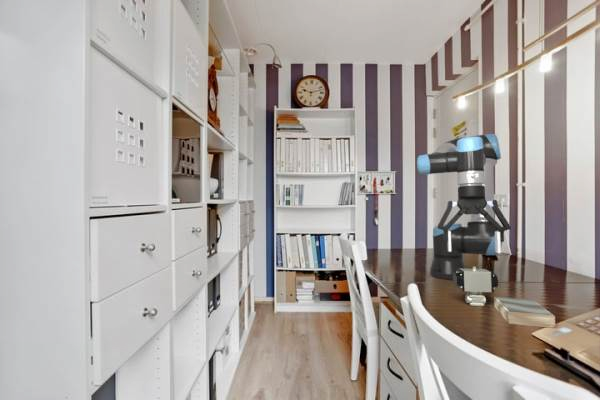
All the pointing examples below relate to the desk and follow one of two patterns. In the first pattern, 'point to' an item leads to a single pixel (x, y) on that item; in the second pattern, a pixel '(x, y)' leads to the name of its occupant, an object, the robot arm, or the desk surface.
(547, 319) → the book
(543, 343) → the desk surface
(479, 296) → the pneumatic valve
